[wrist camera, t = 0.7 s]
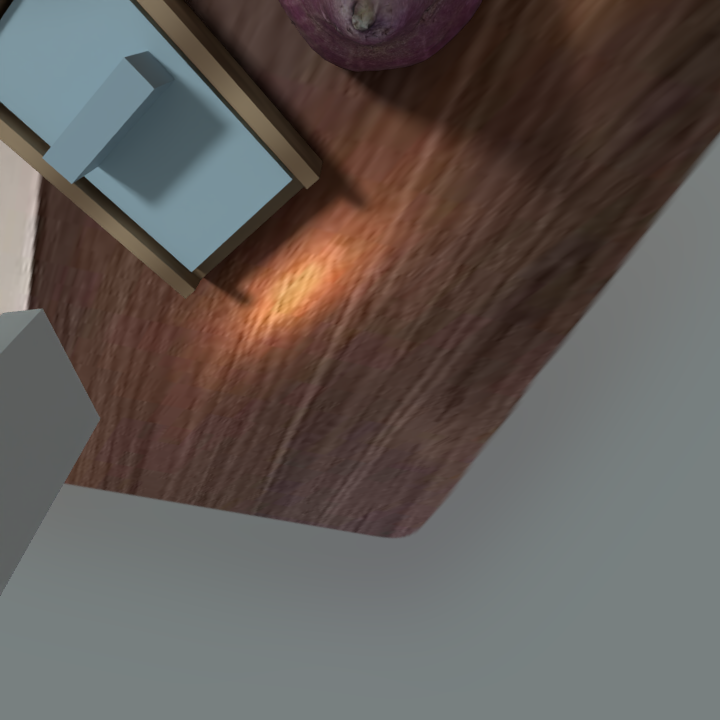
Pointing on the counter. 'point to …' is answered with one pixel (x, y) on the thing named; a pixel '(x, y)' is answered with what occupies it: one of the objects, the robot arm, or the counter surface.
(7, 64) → the lid
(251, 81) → the pencil box
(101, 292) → the counter surface
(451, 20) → the vegetable
